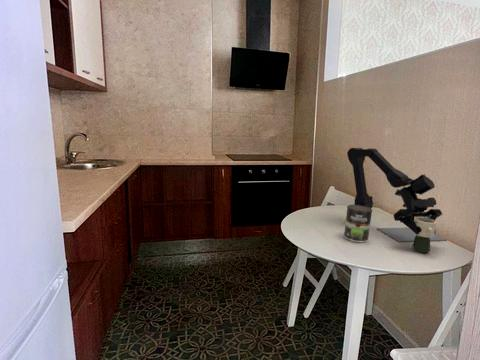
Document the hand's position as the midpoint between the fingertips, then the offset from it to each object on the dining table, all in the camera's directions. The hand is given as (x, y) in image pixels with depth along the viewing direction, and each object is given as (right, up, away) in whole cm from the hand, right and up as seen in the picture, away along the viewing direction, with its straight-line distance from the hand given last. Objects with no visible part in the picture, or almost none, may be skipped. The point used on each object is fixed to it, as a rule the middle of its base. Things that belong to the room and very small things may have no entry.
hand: (426, 233), depth 117 cm
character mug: (-1, -7, +3) cm, 8 cm away
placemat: (+6, -4, +21) cm, 22 cm away
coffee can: (-23, -5, +14) cm, 27 cm away
